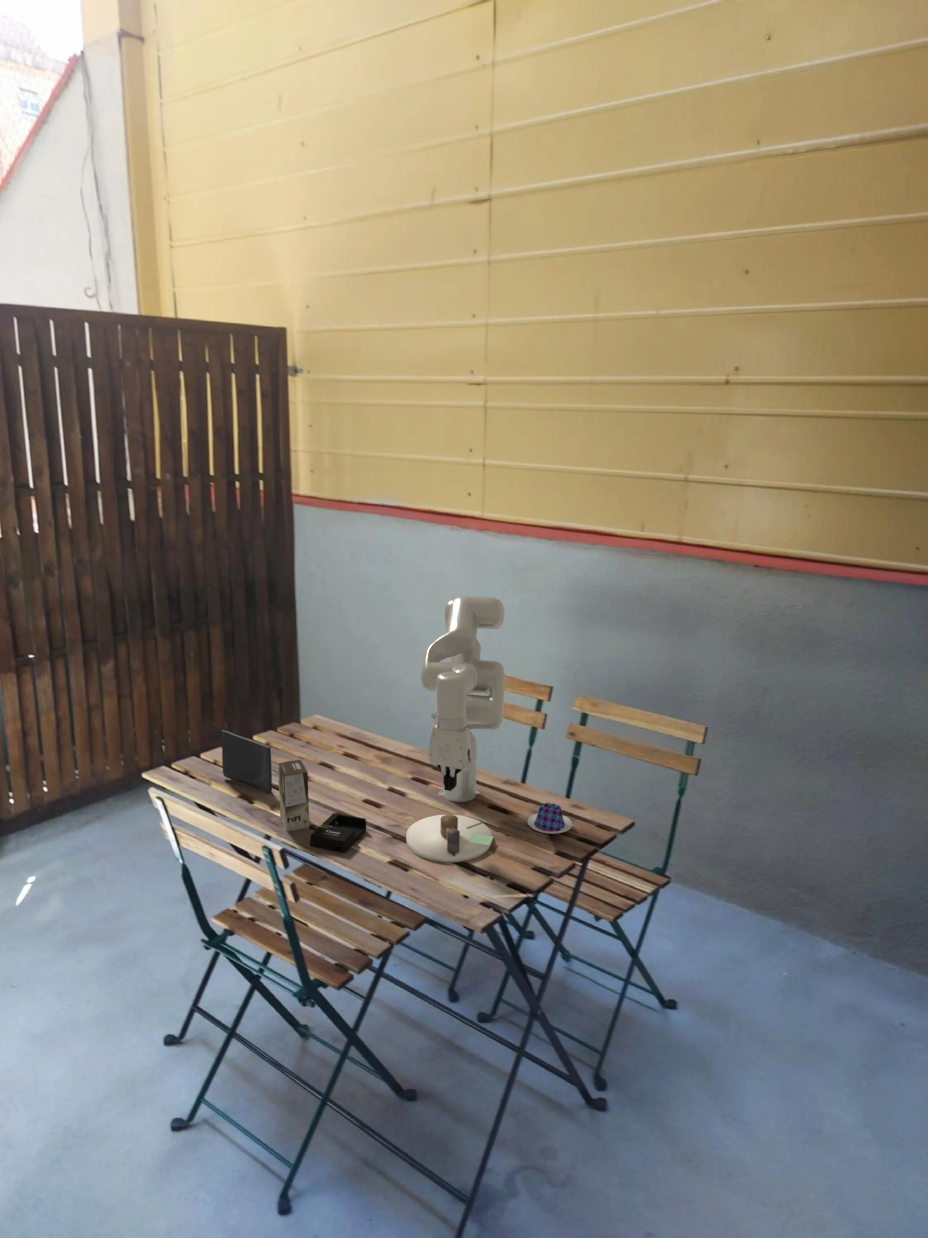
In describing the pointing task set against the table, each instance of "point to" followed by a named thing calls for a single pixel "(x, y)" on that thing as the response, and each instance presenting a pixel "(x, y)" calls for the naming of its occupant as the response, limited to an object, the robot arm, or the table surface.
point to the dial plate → (433, 845)
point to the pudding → (550, 819)
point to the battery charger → (338, 833)
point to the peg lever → (451, 832)
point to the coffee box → (293, 795)
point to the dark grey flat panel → (246, 761)
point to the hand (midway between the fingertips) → (450, 788)
